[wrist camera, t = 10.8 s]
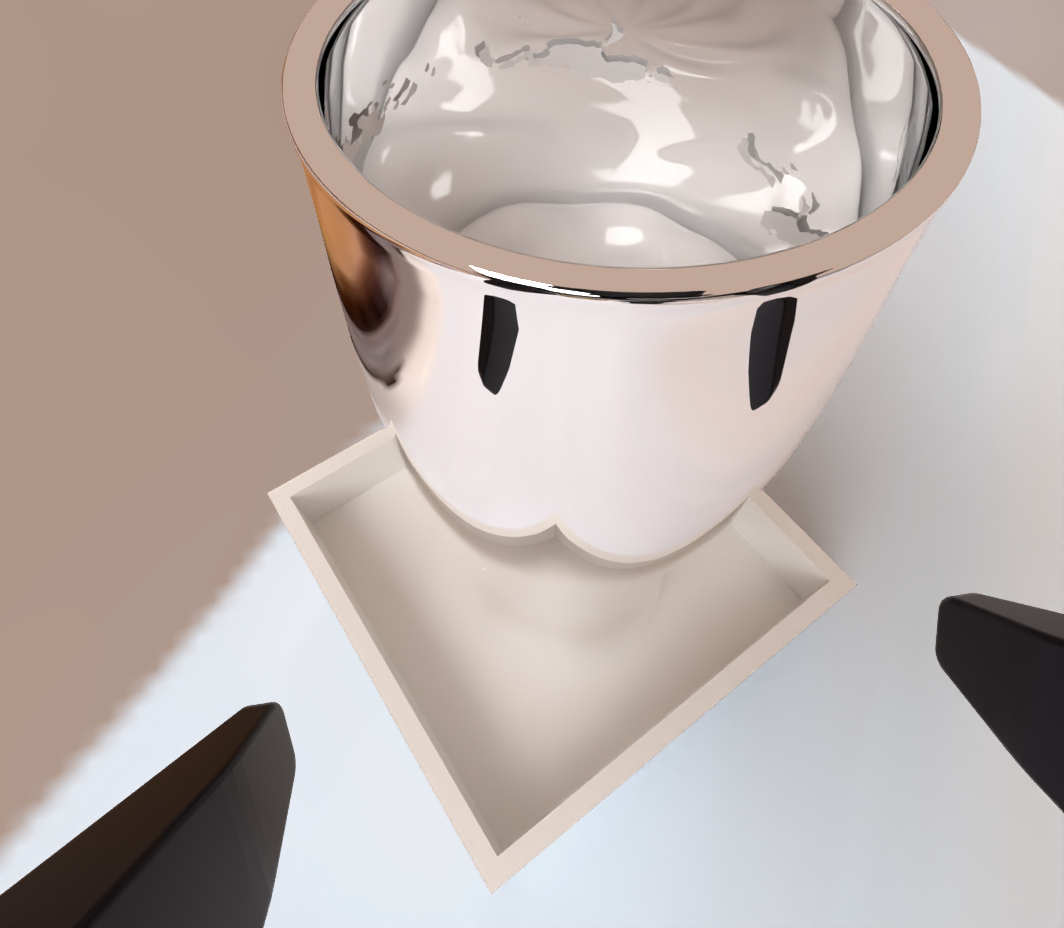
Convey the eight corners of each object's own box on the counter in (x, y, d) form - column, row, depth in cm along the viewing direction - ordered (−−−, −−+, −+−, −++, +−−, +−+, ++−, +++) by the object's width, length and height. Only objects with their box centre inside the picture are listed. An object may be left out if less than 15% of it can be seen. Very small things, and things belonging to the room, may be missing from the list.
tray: (813, 613, 19) (857, 584, 17) (498, 877, 16) (491, 894, 13) (581, 366, 24) (586, 313, 21) (301, 531, 21) (267, 492, 18)
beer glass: (565, 430, 21) (610, -158, 8) (721, 569, 19) (1149, 48, 6) (406, 558, 19) (119, 35, 6) (561, 735, 17) (654, 509, 3)
